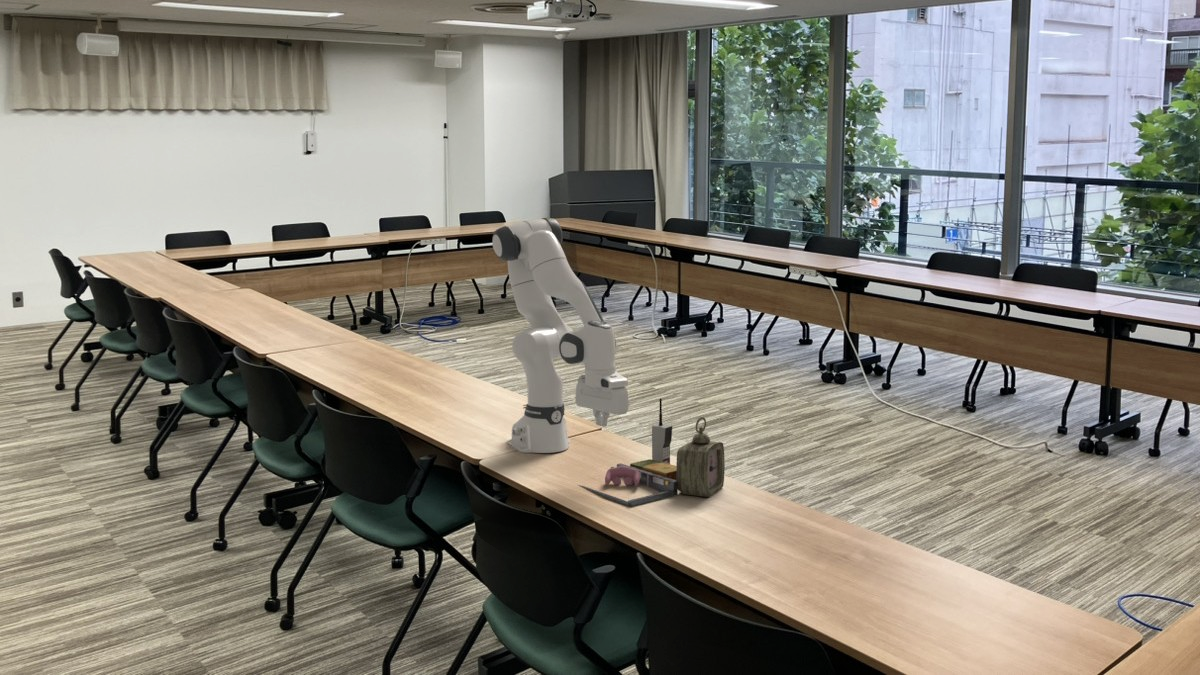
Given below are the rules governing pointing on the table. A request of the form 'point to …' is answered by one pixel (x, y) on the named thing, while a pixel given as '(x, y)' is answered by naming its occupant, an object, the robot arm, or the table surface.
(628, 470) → the purple lumpy piece
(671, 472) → the carton
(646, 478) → the dock panel
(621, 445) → the table surface
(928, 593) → the table surface
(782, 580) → the table surface
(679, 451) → the tabletop clock
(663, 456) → the vintage mobile phone
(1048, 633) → the table surface
